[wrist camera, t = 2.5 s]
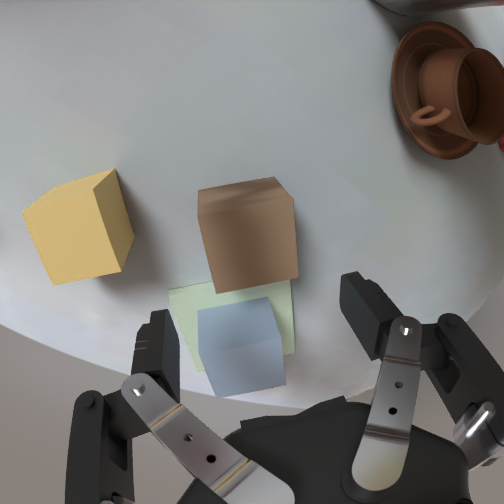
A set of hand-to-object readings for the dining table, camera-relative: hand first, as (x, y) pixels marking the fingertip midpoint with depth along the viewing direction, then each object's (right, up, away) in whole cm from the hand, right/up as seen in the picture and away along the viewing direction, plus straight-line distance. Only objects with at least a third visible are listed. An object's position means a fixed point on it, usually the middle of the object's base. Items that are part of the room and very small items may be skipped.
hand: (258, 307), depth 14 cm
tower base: (-2, -4, +14) cm, 15 cm away
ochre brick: (-12, +6, +7) cm, 15 cm away
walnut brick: (-1, +5, +9) cm, 11 cm away
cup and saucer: (+15, +16, +6) cm, 23 cm away
